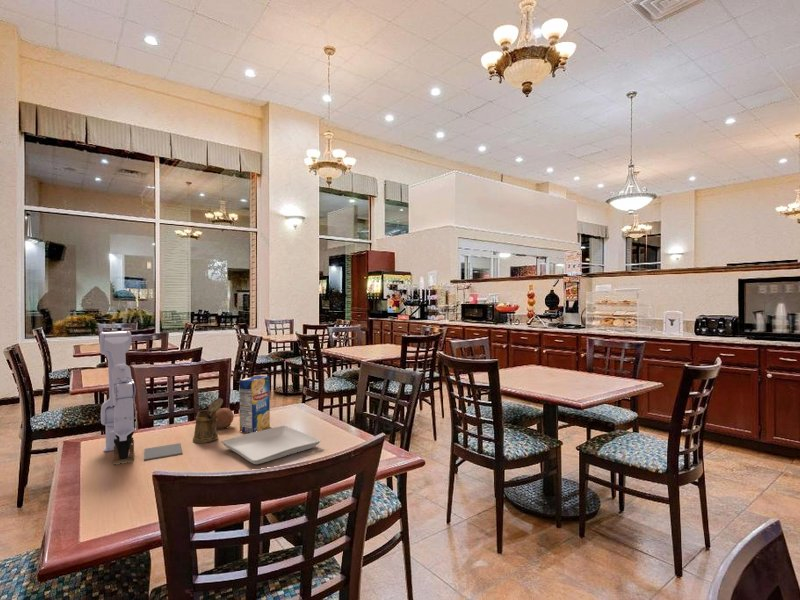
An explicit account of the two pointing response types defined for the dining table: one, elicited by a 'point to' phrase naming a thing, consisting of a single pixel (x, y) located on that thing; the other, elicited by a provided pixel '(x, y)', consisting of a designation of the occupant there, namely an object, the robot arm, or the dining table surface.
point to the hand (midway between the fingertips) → (124, 455)
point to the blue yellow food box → (254, 403)
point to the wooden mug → (207, 423)
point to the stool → (129, 459)
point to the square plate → (270, 444)
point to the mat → (162, 451)
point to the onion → (224, 418)
